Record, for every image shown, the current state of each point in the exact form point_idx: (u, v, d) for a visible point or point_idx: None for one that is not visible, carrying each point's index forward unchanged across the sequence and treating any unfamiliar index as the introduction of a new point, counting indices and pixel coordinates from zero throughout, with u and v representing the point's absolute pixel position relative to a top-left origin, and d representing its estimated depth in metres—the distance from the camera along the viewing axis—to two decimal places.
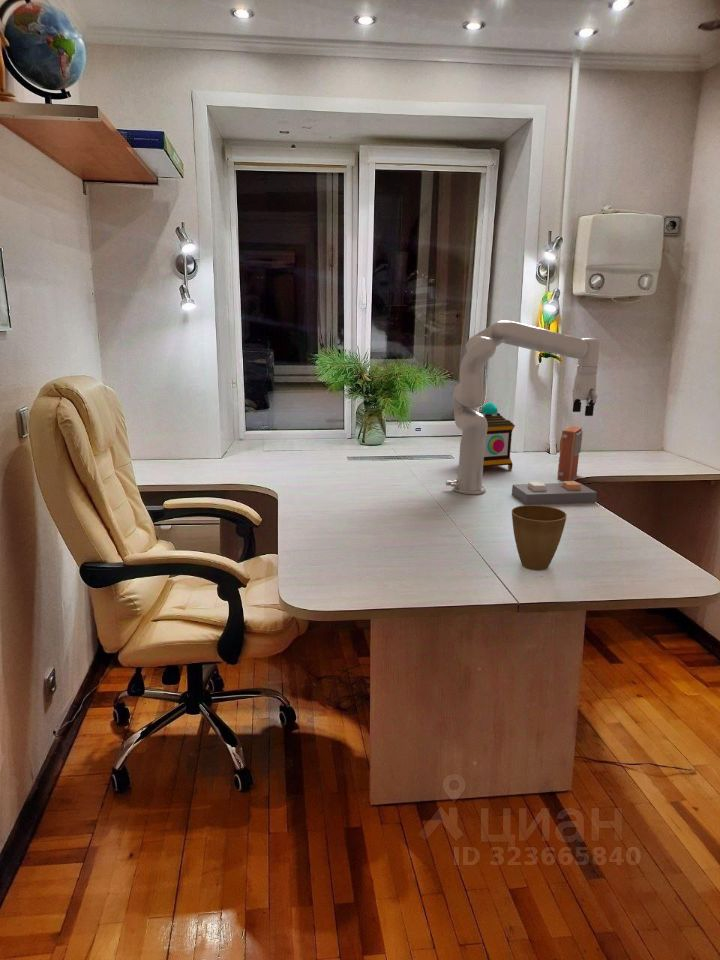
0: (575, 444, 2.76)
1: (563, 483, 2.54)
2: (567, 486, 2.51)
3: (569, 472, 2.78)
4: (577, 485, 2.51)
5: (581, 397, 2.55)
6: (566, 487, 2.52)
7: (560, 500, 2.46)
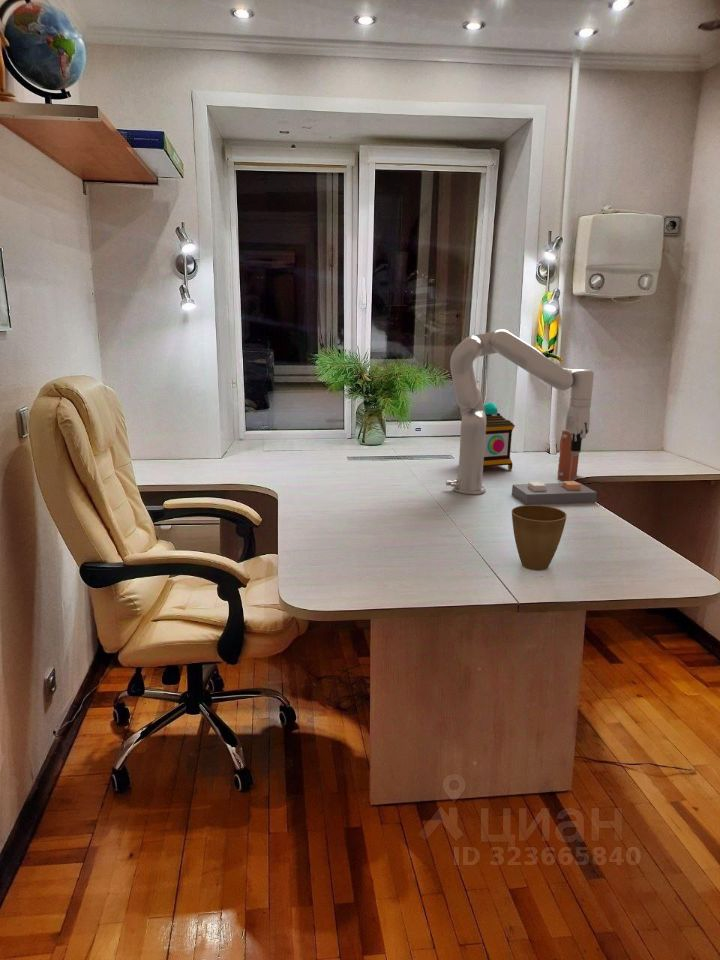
0: None
1: (563, 483, 2.54)
2: (567, 486, 2.51)
3: (569, 472, 2.78)
4: (577, 485, 2.51)
5: (574, 431, 2.44)
6: (566, 487, 2.52)
7: (560, 500, 2.46)
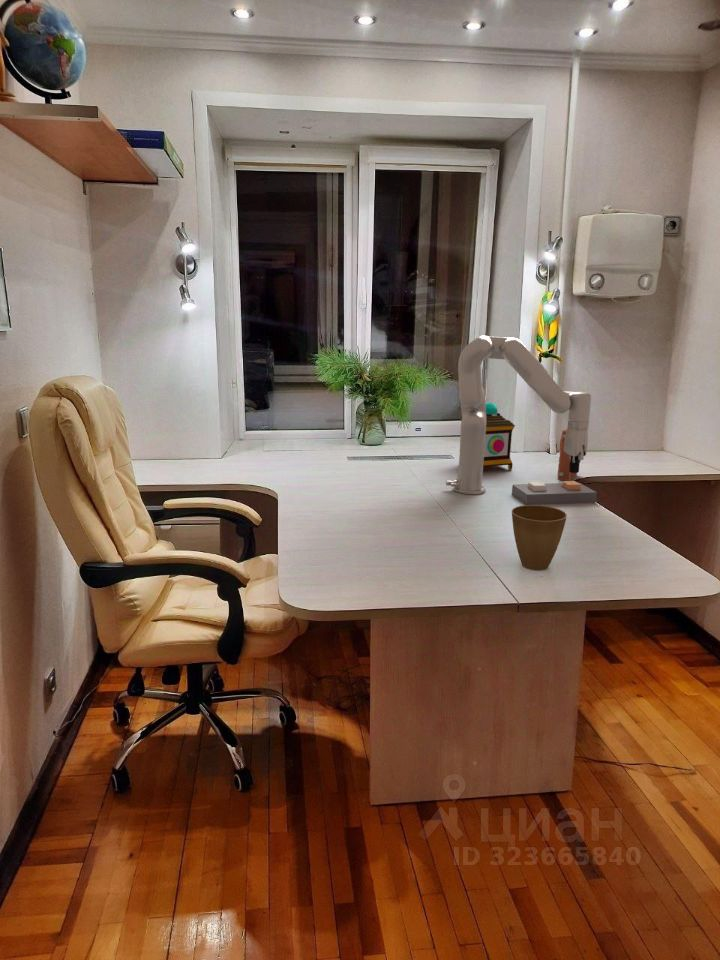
0: None
1: (563, 483, 2.54)
2: (567, 486, 2.51)
3: (569, 472, 2.78)
4: (577, 485, 2.51)
5: (572, 453, 2.46)
6: (566, 487, 2.52)
7: (560, 500, 2.46)
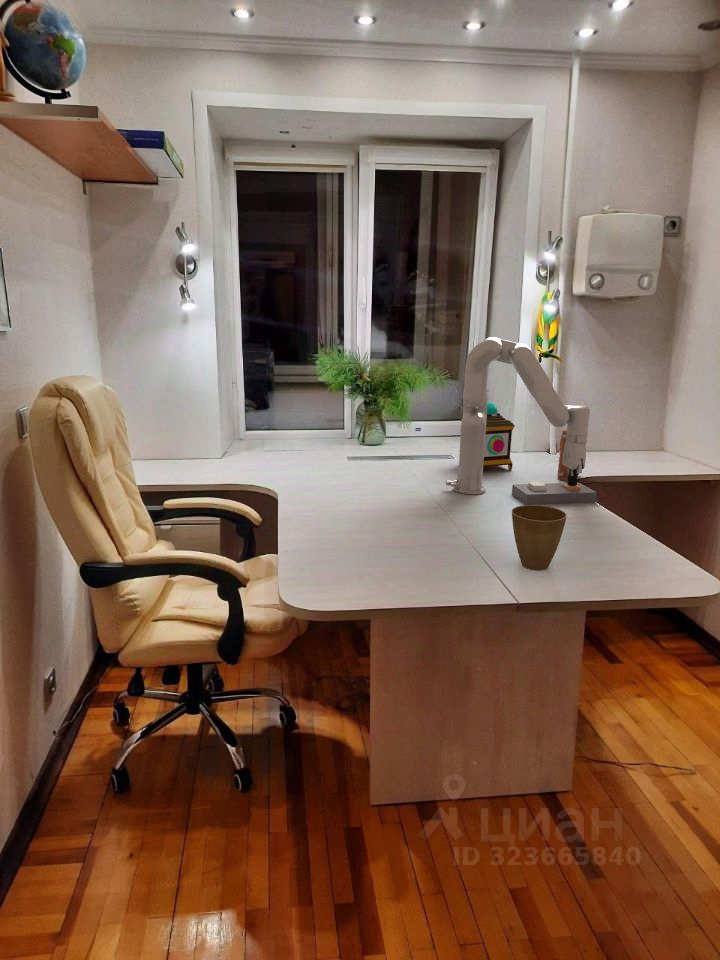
0: None
1: (563, 485, 2.54)
2: (567, 489, 2.51)
3: None
4: (577, 487, 2.51)
5: (570, 466, 2.48)
6: (566, 489, 2.52)
7: (560, 500, 2.46)
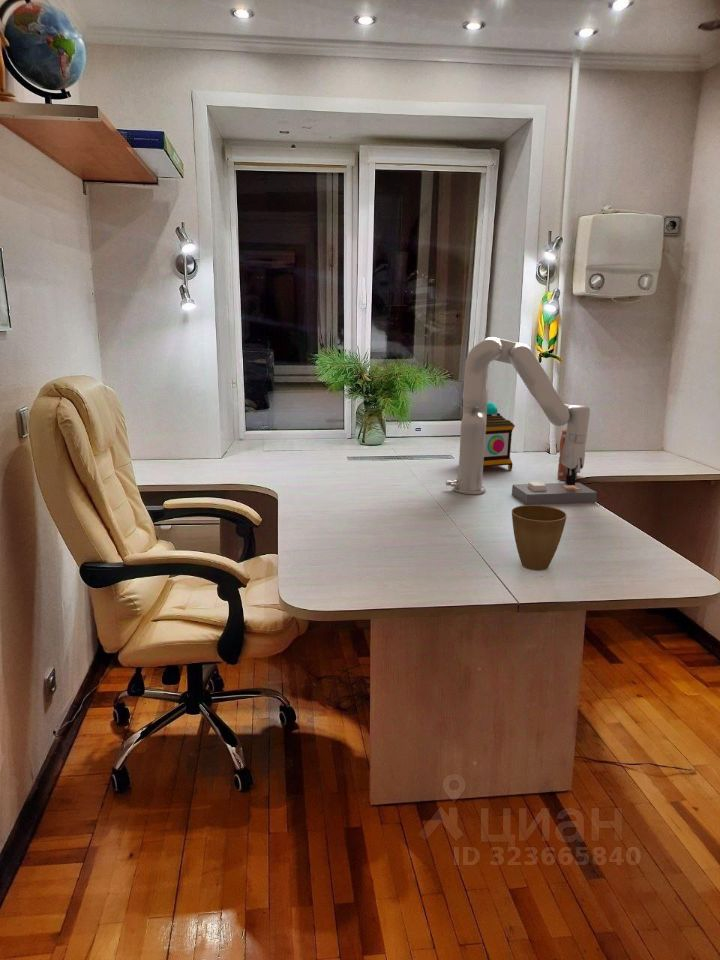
0: None
1: None
2: None
3: None
4: None
5: (569, 466, 2.48)
6: None
7: (560, 500, 2.46)
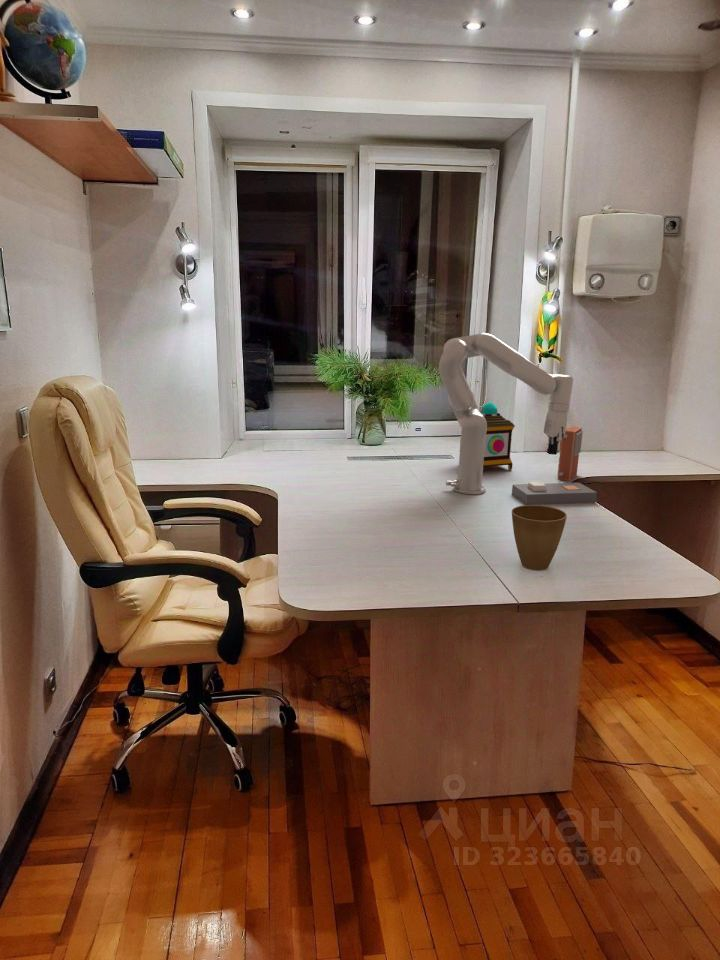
0: (575, 444, 2.76)
1: None
2: None
3: (569, 472, 2.78)
4: None
5: (551, 434, 2.51)
6: None
7: (560, 500, 2.46)
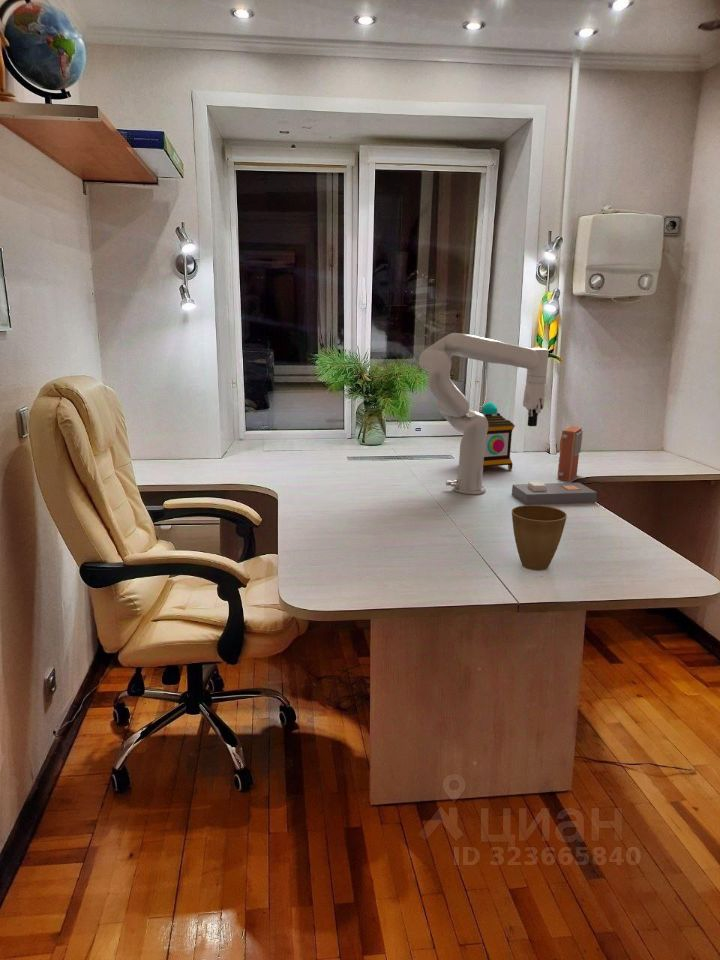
0: (575, 444, 2.76)
1: None
2: None
3: (569, 472, 2.78)
4: None
5: (530, 406, 2.58)
6: None
7: (560, 500, 2.46)
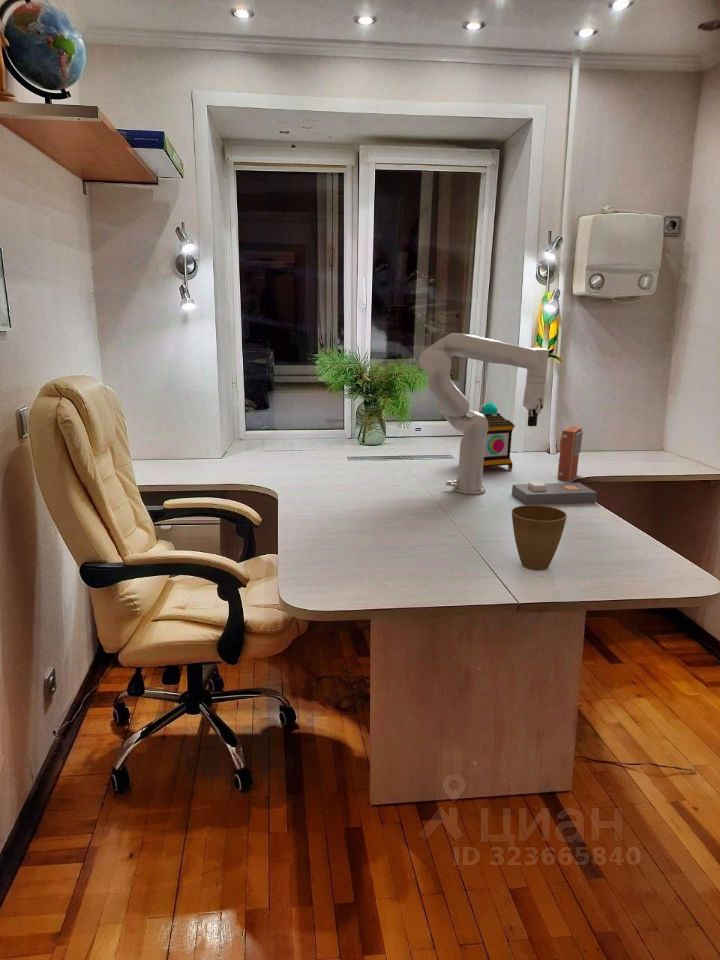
0: (575, 444, 2.76)
1: None
2: None
3: (569, 472, 2.78)
4: None
5: (530, 406, 2.58)
6: None
7: (560, 500, 2.46)
